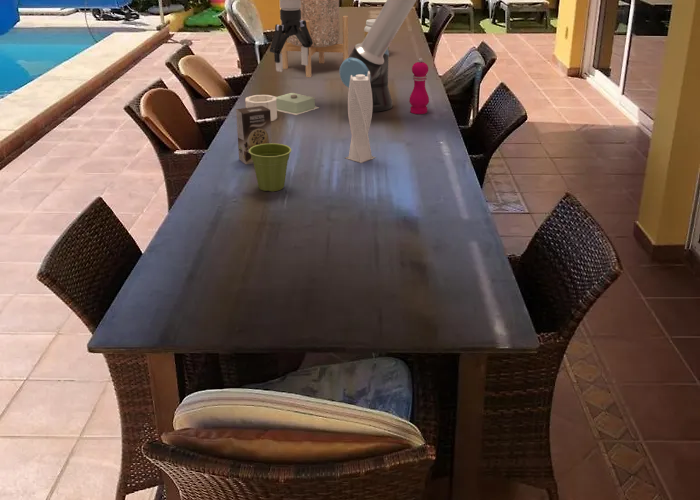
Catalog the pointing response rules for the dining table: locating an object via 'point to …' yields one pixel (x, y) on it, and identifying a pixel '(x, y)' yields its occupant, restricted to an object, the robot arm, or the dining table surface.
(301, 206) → the dining table surface
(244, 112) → the coffee box
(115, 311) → the dining table surface
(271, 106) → the bowl
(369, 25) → the supplement tub
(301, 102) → the lid
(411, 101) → the pepper mill
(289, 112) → the mat
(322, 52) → the planter
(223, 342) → the dining table surface
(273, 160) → the plant pot
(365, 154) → the skyscraper
